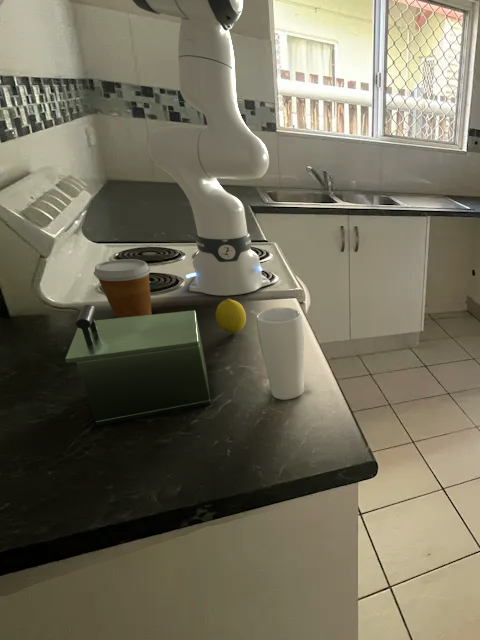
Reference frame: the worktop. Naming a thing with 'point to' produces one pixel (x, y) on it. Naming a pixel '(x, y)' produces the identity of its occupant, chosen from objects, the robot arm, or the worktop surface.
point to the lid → (131, 334)
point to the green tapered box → (145, 383)
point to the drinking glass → (282, 350)
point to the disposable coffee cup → (126, 286)
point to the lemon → (230, 316)
